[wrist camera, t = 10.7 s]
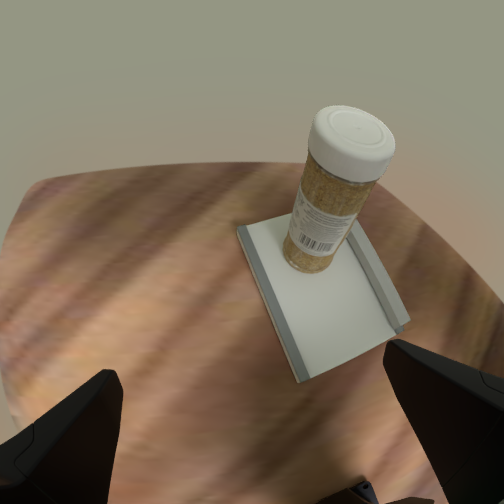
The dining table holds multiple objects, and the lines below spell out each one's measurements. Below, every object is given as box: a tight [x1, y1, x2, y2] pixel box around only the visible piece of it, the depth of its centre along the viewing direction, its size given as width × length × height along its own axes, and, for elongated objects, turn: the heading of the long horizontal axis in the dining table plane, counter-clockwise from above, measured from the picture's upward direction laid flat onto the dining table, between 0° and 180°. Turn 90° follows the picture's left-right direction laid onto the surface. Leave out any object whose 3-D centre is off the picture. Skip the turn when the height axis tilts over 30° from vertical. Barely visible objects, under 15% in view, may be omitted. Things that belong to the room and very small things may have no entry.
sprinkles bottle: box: [283, 105, 395, 274], centre depth 19 cm, size 5×5×14 cm
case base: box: [237, 213, 411, 383], centre depth 23 cm, size 14×10×2 cm
